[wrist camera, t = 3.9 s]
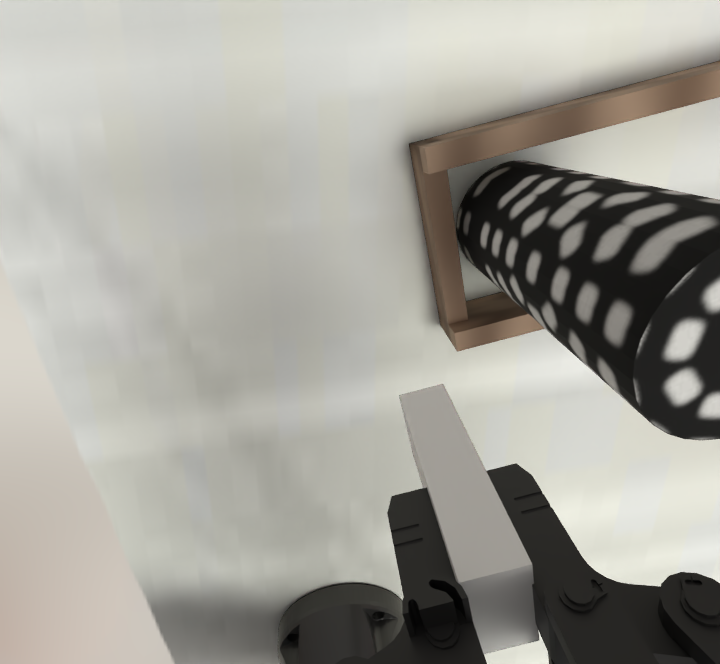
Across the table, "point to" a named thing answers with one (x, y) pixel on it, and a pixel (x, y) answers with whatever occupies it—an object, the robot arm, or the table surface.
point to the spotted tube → (610, 280)
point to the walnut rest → (437, 154)
